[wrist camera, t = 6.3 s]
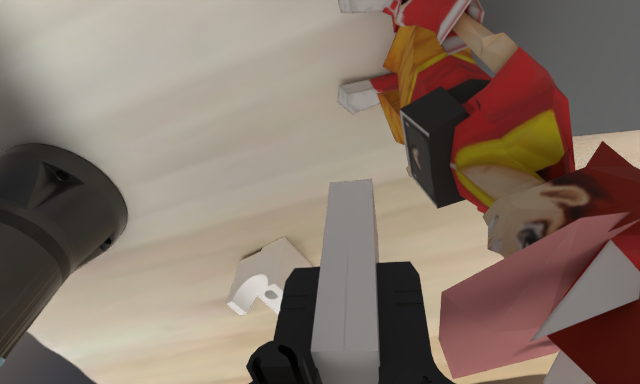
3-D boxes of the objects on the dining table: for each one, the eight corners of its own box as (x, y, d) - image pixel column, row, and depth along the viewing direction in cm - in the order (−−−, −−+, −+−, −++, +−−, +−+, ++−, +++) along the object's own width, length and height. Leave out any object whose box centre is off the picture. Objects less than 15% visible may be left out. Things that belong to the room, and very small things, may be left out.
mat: (434, 146, 38) (435, 150, 37) (437, -146, 25) (439, -148, 24) (713, 117, 34) (720, 121, 33) (884, -245, 21) (900, -249, 21)
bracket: (241, 255, 50) (226, 303, 44) (284, 235, 47) (274, 283, 41) (300, 310, 56) (293, 359, 50) (341, 295, 53) (339, 344, 47)
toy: (296, -19, 28) (523, 360, 4) (413, -59, 28) (1384, 121, 4) (335, 121, 36) (503, 555, 12) (429, 91, 35) (807, 479, 11)
